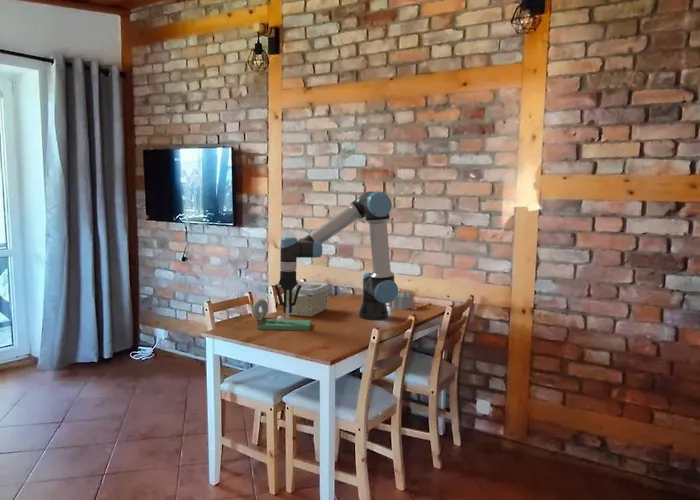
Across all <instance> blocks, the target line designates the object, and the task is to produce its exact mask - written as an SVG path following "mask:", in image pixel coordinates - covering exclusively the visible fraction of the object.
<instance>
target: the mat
mask: <svg viewBox="0 0 700 500" xmlns="http://www.w3.org/2000/svg"><path fill="white" fill-rule="evenodd" d="M256 326H257V327H256V329H257V330H270V331H271V330H274V331H276V330H277V331H279V330H280V331H281V330H283V331H310V330H311V326H312V319H311V320H310V319H289V321H288V320H286V319H284V321H283V322H281V323H279V322H278V321H277V318H276V319H270V318H266V319H264V321H263V322H262V324H261V325H256Z"/></svg>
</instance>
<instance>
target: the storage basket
mask: <svg viewBox="0 0 700 500" xmlns="http://www.w3.org/2000/svg"><path fill="white" fill-rule="evenodd" d="M297 283H298V284H299V285H302V287H301V289H300V290H299V293H298V297H297V301H296V304H295V305H294V306H292V312H291V313H289V316H299V317H308V318H310V317H314V316H315V315H317V314H319V313H322V312H323V311H325V310H327V304H328V298H329V297H328V296H329V295H328V294H329V291H330V284H329V282H313V281H301V282H297ZM296 287H297V286H295V287H294V288H293V290H292V303H293V302H294V298H295V294H296V290H297V288H296ZM312 288H314V289H312ZM286 306H289V290H287V305H286Z"/></svg>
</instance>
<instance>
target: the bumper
mask: <svg viewBox="0 0 700 500" xmlns="http://www.w3.org/2000/svg"><path fill="white" fill-rule="evenodd" d="M265 317H266V316H265V314H261V315H260V317H259V318H258V319H257V320H256V321H257V325H261V324H262V322H263V321H264V319H265ZM257 325H256V326H257Z"/></svg>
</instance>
